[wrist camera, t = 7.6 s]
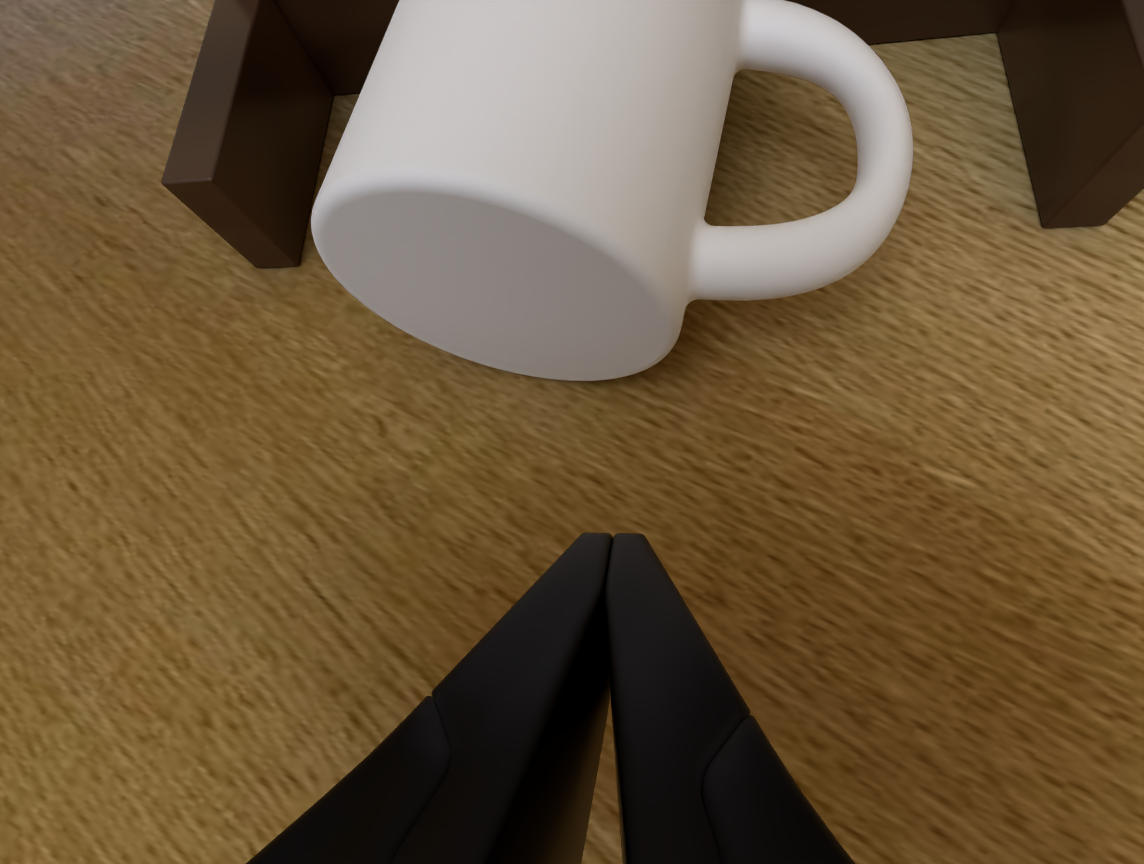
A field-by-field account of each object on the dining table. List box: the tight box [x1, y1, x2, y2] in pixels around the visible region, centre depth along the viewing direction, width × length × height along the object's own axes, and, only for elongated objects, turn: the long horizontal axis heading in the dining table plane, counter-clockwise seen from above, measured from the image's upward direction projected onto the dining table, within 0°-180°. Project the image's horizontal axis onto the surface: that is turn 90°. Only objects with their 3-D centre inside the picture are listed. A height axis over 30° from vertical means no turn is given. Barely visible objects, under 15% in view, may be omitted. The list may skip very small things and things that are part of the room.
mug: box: [311, 0, 913, 381], centre depth 14 cm, size 12×10×8 cm
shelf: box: [161, 0, 1144, 268], centre depth 16 cm, size 9×24×7 cm, turn 88°
